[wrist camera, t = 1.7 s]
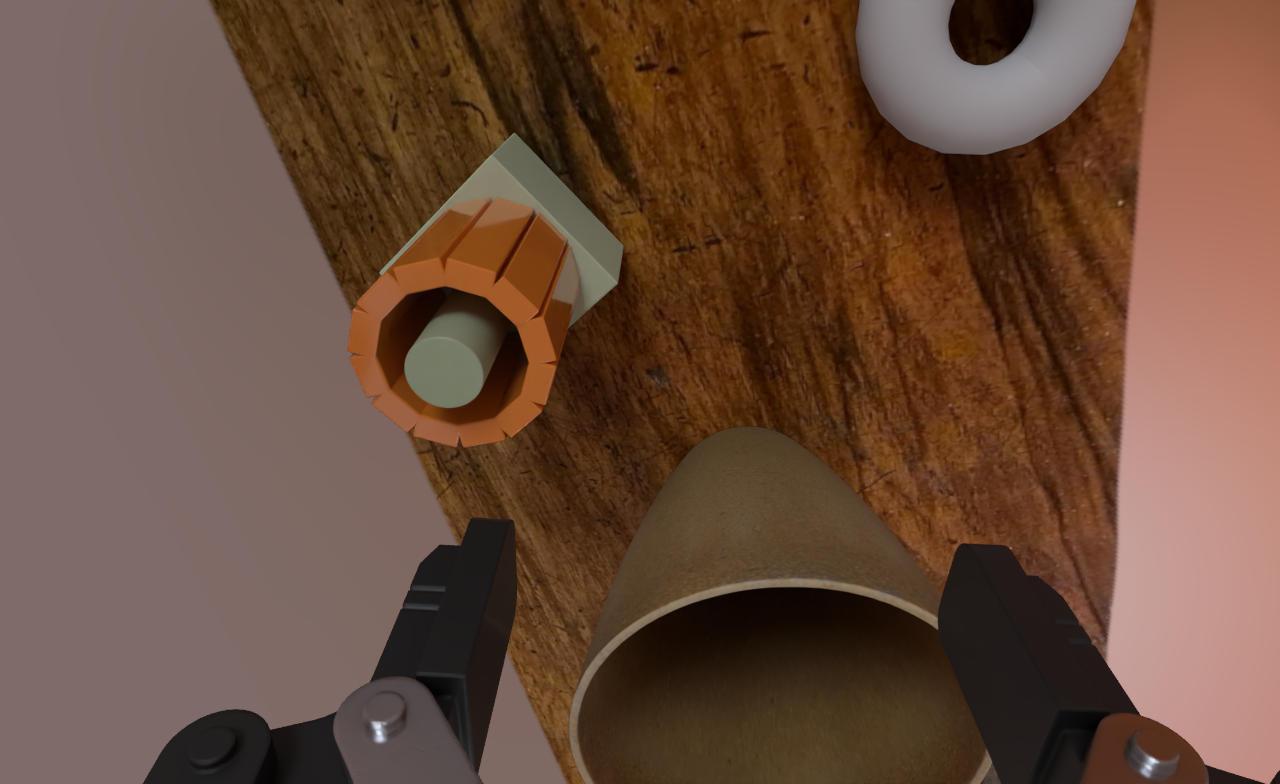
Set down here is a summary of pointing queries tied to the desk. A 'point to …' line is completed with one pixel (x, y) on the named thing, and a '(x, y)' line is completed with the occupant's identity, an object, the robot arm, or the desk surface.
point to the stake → (470, 324)
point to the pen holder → (488, 267)
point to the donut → (984, 71)
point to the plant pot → (769, 638)
